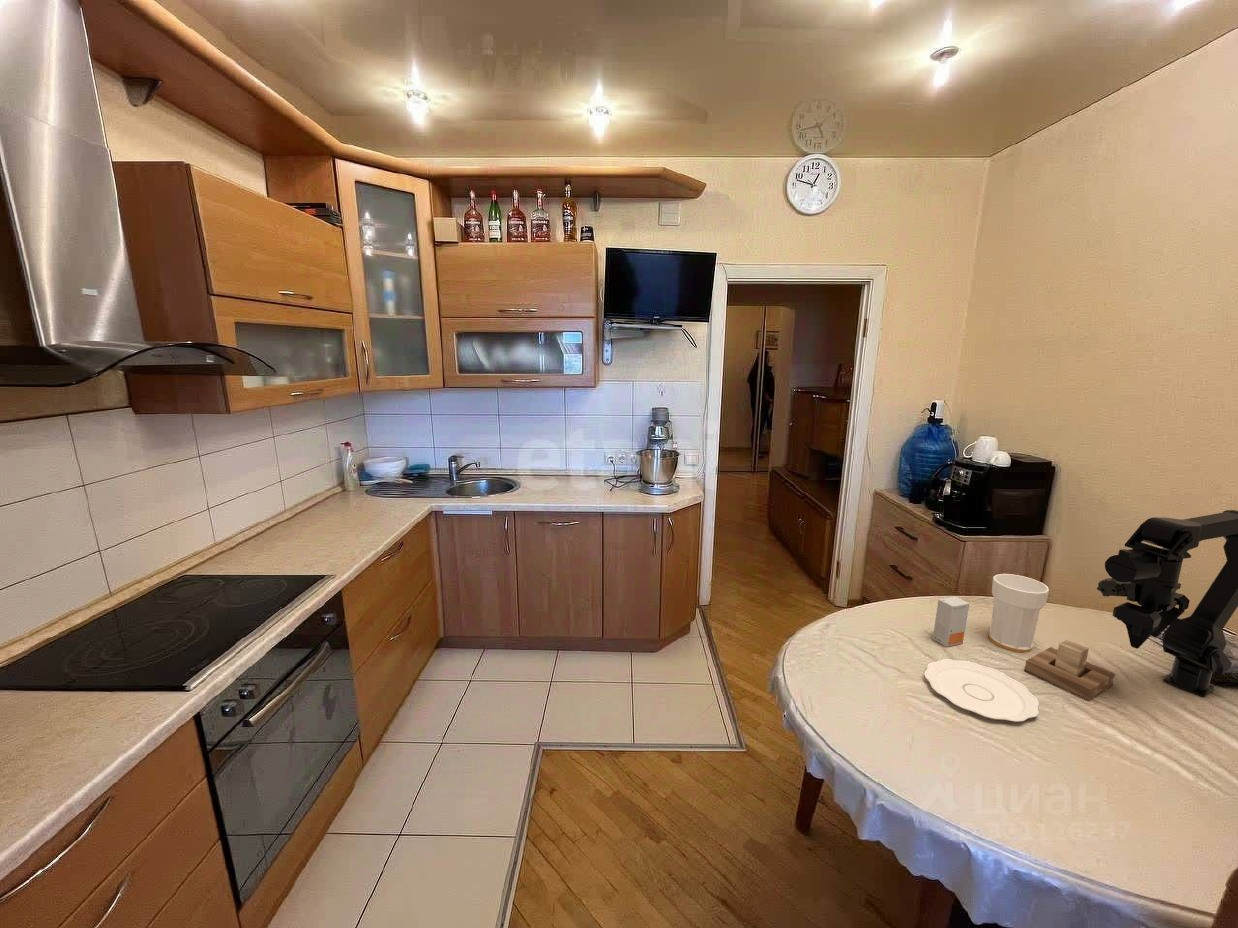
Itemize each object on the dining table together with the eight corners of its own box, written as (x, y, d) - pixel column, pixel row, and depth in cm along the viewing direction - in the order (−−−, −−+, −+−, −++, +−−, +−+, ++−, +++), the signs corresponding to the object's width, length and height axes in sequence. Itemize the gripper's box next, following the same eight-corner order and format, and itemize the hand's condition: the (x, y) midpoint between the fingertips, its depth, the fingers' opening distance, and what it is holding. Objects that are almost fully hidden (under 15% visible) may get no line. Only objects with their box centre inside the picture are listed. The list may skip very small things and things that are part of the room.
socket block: (1048, 657, 121) (1050, 646, 121) (1112, 684, 111) (1115, 673, 110) (1024, 671, 116) (1026, 660, 116) (1088, 701, 106) (1091, 689, 105)
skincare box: (946, 647, 126) (952, 606, 124) (932, 639, 130) (937, 598, 128) (964, 644, 128) (970, 603, 125) (949, 635, 132) (955, 595, 129)
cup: (1049, 655, 122) (1061, 592, 119) (1005, 655, 123) (1015, 593, 119) (1014, 630, 133) (1024, 573, 130) (973, 631, 134) (982, 573, 130)
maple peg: (1061, 668, 116) (1067, 639, 114) (1082, 678, 112) (1089, 647, 111) (1053, 673, 114) (1059, 643, 113) (1074, 683, 111) (1081, 652, 109)
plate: (1062, 733, 97) (1063, 726, 97) (948, 719, 101) (949, 712, 101) (1003, 670, 117) (1004, 664, 117) (910, 660, 121) (911, 654, 121)
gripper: (1126, 555, 113) (1115, 614, 117) (1087, 572, 106) (1076, 635, 109) (1197, 572, 104) (1182, 637, 107) (1159, 592, 96) (1144, 661, 99)
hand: (1144, 641), depth 106 cm, fingers open, 9 cm apart
